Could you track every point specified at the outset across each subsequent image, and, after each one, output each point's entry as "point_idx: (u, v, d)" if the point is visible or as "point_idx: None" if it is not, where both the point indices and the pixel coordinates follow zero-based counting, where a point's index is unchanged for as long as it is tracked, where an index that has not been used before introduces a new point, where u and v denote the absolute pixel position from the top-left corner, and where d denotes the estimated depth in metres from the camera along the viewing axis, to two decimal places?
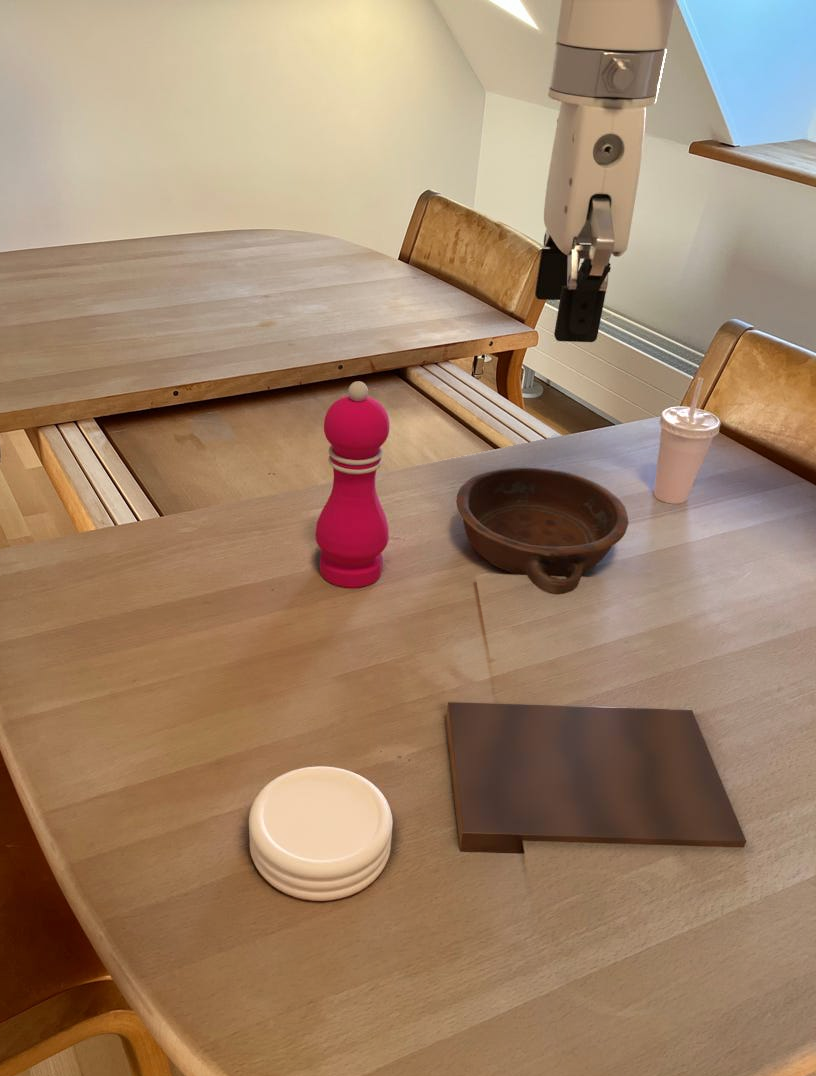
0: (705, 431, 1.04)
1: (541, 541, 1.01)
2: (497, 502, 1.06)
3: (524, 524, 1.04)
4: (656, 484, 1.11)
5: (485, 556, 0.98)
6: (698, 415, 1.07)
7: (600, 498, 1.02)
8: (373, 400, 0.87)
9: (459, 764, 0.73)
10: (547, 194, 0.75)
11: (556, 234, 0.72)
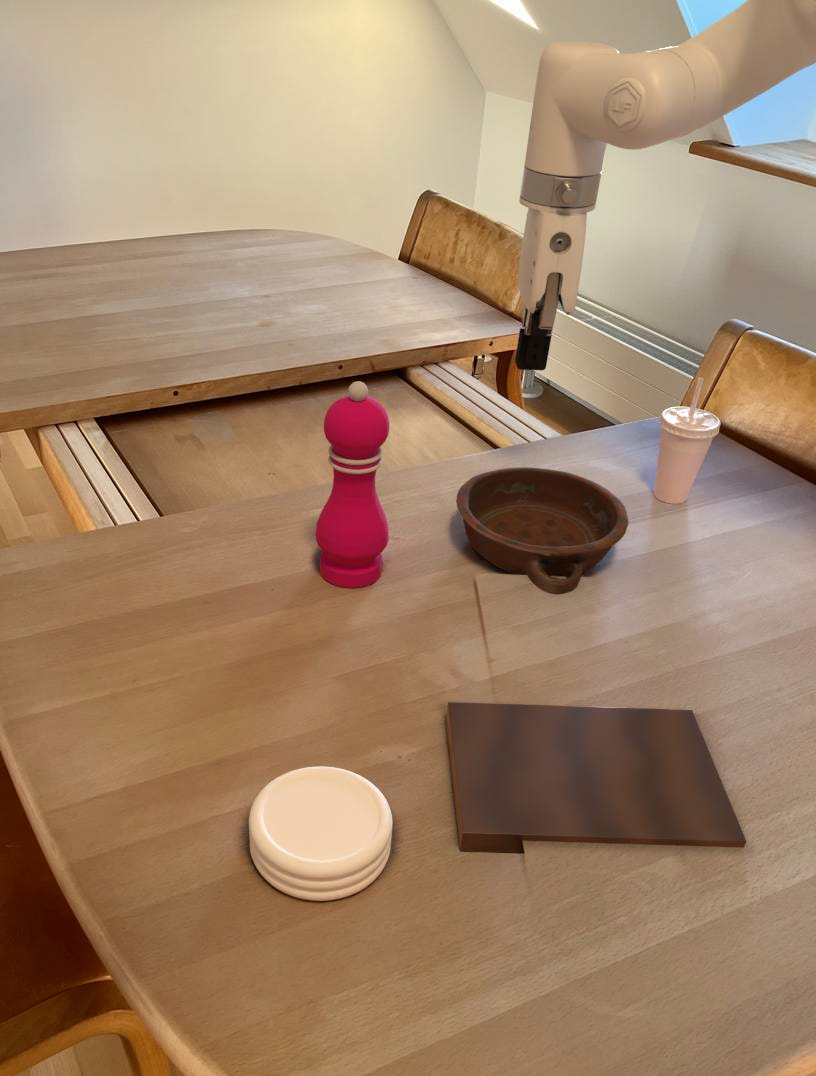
0: (705, 431, 1.04)
1: (541, 541, 1.01)
2: (497, 502, 1.06)
3: (524, 524, 1.04)
4: (656, 484, 1.11)
5: (485, 556, 0.98)
6: (698, 415, 1.07)
7: (600, 498, 1.02)
8: (373, 400, 0.87)
9: (459, 764, 0.73)
10: (519, 266, 1.03)
11: (525, 297, 1.00)
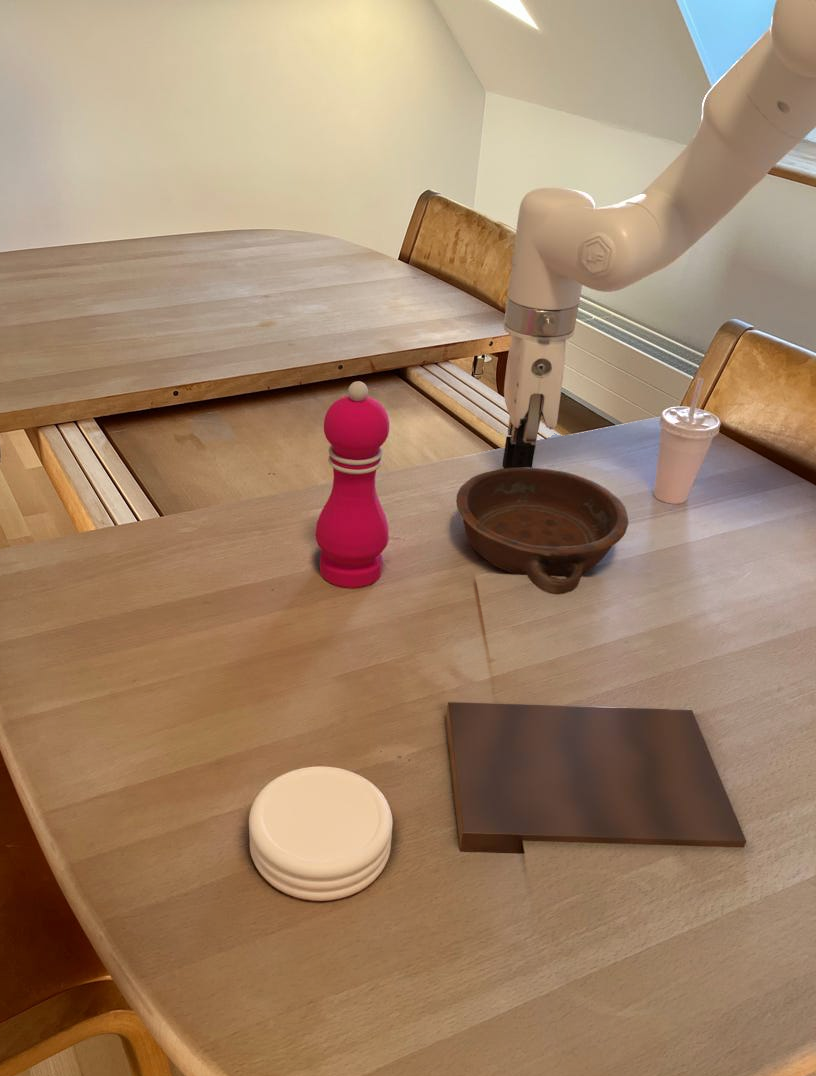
0: (705, 431, 1.04)
1: (541, 541, 1.01)
2: (497, 502, 1.06)
3: (524, 524, 1.04)
4: (656, 484, 1.11)
5: (485, 556, 0.98)
6: (698, 415, 1.07)
7: (600, 498, 1.02)
8: (373, 400, 0.87)
9: (459, 764, 0.73)
10: (505, 380, 1.11)
11: (510, 412, 1.08)
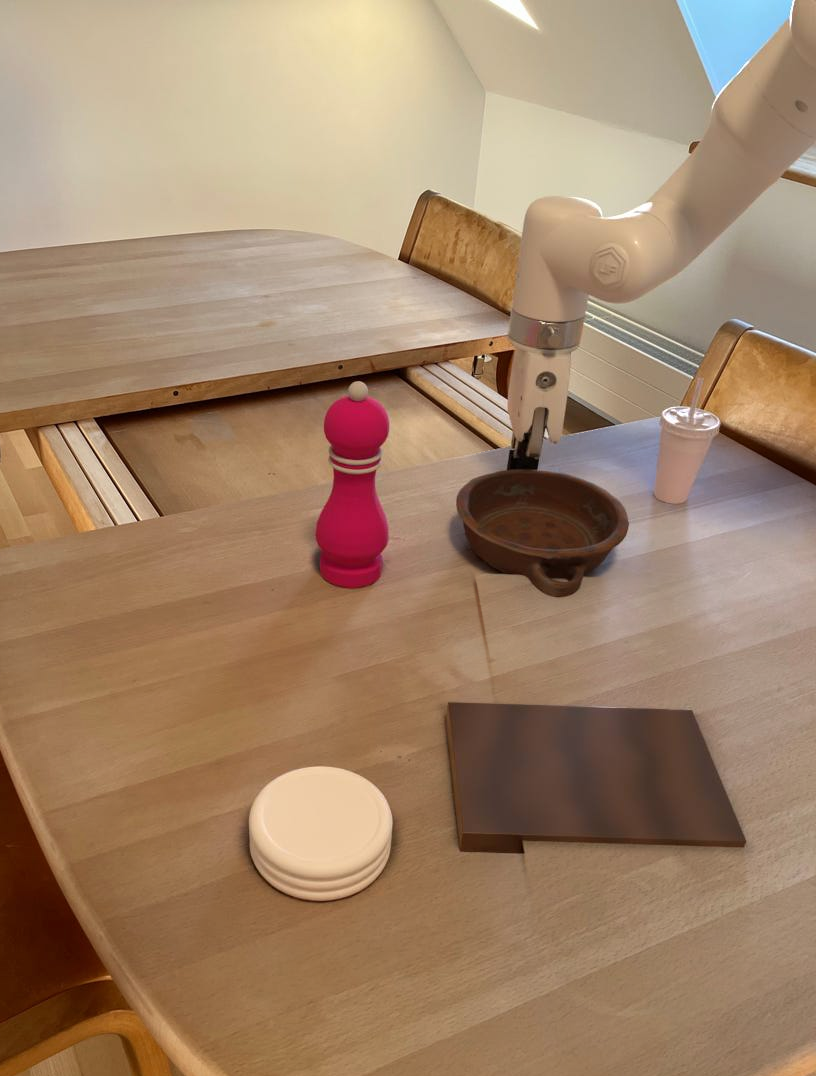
0: (705, 431, 1.04)
1: (541, 544, 1.01)
2: (496, 504, 1.06)
3: (524, 526, 1.04)
4: (656, 484, 1.11)
5: (486, 559, 0.98)
6: (698, 415, 1.07)
7: (600, 500, 1.02)
8: (373, 400, 0.87)
9: (459, 764, 0.73)
10: (509, 392, 1.08)
11: (513, 426, 1.05)
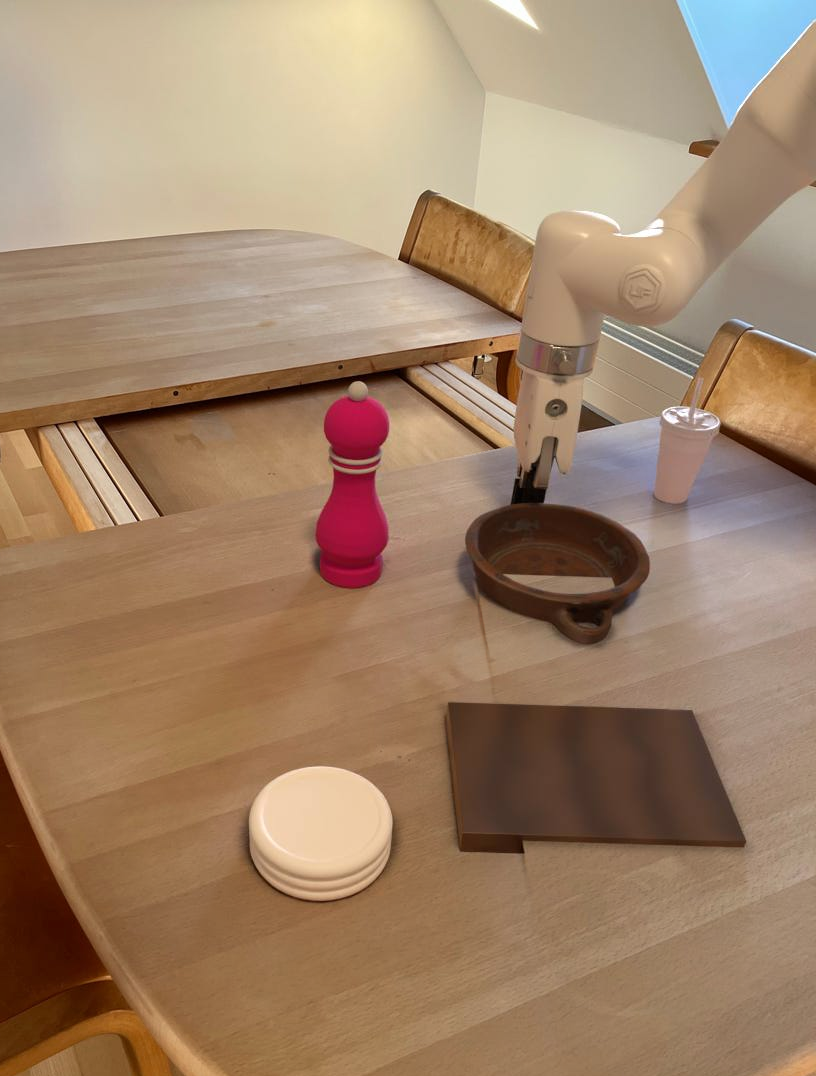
0: (705, 431, 1.04)
1: None
2: (502, 542, 1.00)
3: (534, 565, 0.98)
4: (656, 484, 1.11)
5: None
6: (698, 415, 1.07)
7: (613, 533, 0.97)
8: (373, 400, 0.87)
9: (459, 764, 0.73)
10: (515, 418, 1.01)
11: (520, 454, 0.98)
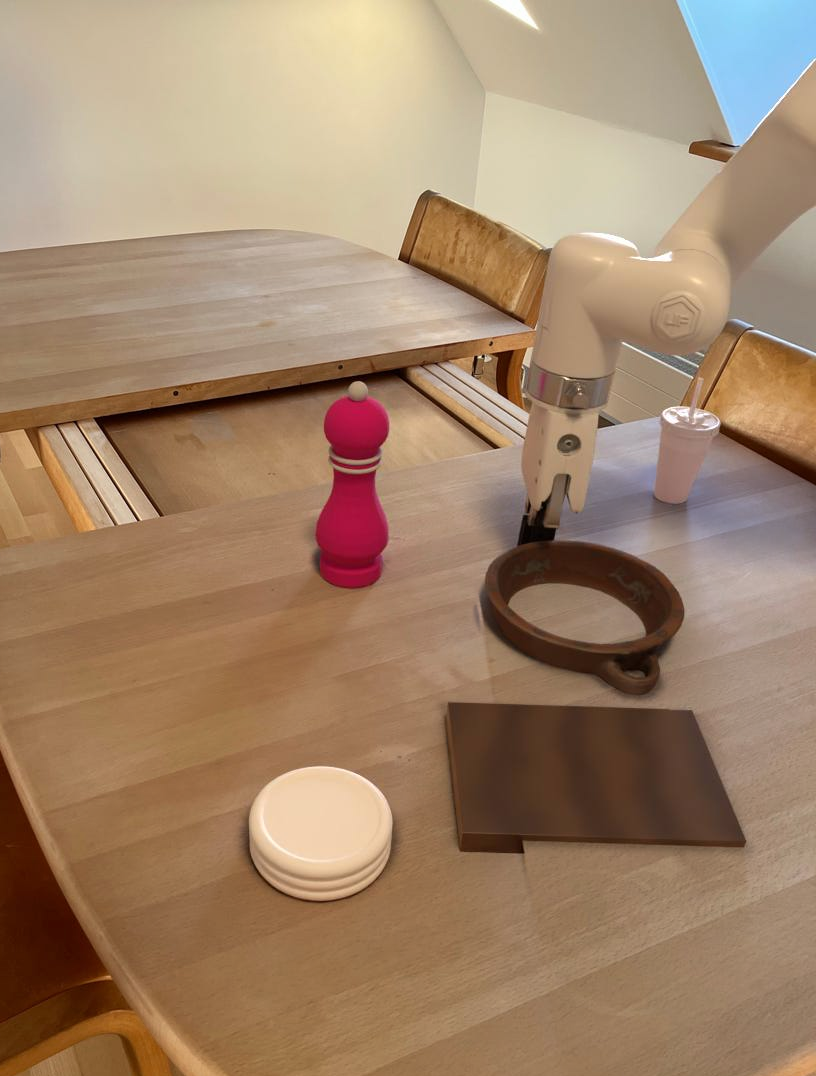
0: (705, 431, 1.04)
1: None
2: (515, 587, 0.93)
3: None
4: (656, 484, 1.11)
5: (541, 660, 0.85)
6: (698, 415, 1.07)
7: (631, 567, 0.92)
8: (373, 400, 0.87)
9: (459, 764, 0.73)
10: (524, 451, 0.95)
11: (529, 491, 0.92)
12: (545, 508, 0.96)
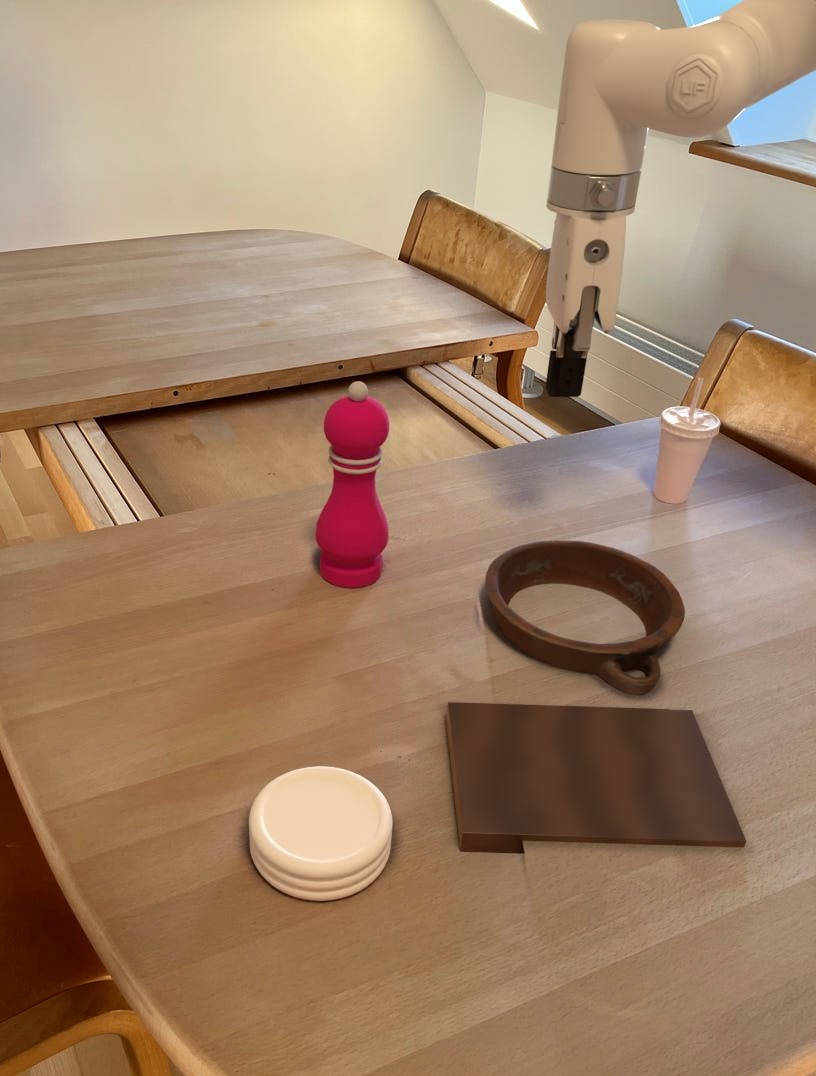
0: (705, 431, 1.04)
1: None
2: (515, 587, 0.93)
3: None
4: (656, 484, 1.11)
5: (541, 660, 0.85)
6: (698, 415, 1.07)
7: (632, 567, 0.92)
8: (373, 400, 0.87)
9: (459, 764, 0.73)
10: (548, 280, 0.91)
11: (556, 316, 0.88)
12: None
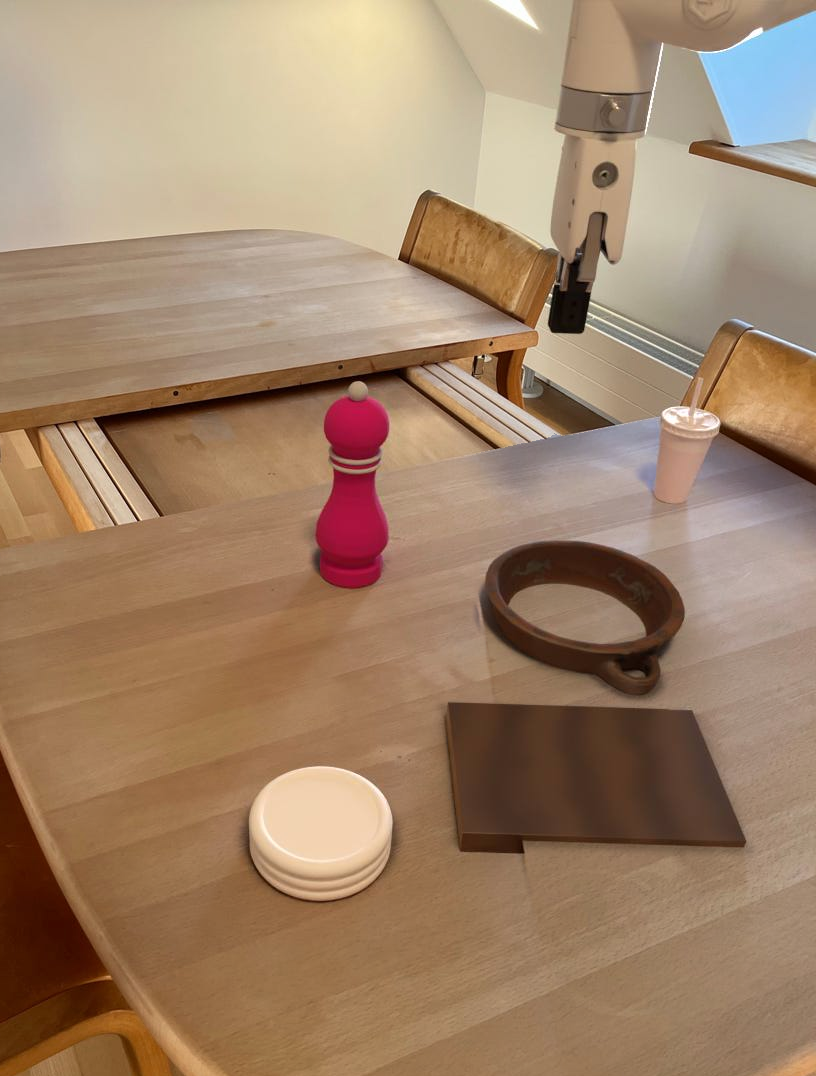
0: (705, 431, 1.04)
1: None
2: (515, 587, 0.93)
3: None
4: (656, 484, 1.11)
5: (541, 660, 0.85)
6: (698, 415, 1.07)
7: (632, 567, 0.92)
8: (373, 400, 0.87)
9: (459, 764, 0.73)
10: (553, 211, 0.88)
11: (561, 245, 0.85)
12: None
